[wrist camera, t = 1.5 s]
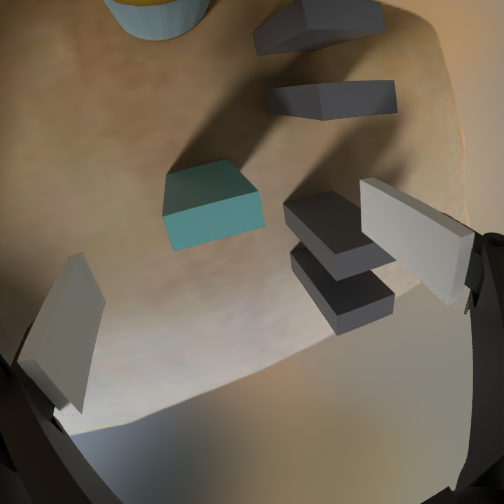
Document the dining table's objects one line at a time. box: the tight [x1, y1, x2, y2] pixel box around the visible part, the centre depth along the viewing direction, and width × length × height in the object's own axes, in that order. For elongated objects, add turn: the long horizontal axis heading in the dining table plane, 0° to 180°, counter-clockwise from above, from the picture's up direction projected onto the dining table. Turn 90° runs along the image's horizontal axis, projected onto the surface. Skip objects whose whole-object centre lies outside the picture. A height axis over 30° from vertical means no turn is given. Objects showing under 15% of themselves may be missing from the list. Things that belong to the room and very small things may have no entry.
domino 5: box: [290, 248, 395, 335], centre depth 26 cm, size 2×5×10 cm, turn 100°
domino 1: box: [162, 159, 265, 251], centre depth 20 cm, size 2×5×10 cm, turn 100°
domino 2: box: [253, 0, 386, 55], centre depth 17 cm, size 2×5×10 cm, turn 100°
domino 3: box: [264, 80, 397, 121], centre depth 19 cm, size 2×5×10 cm, turn 100°
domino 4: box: [283, 191, 396, 281], centre depth 24 cm, size 2×5×10 cm, turn 100°
